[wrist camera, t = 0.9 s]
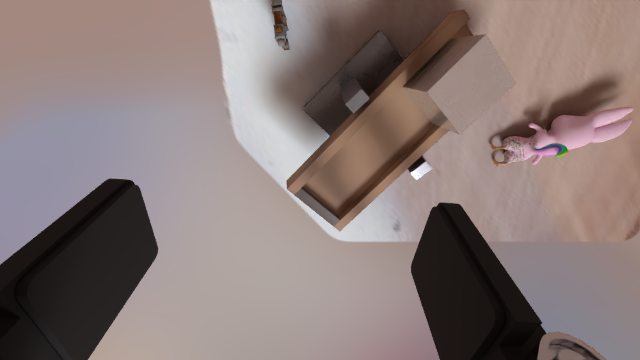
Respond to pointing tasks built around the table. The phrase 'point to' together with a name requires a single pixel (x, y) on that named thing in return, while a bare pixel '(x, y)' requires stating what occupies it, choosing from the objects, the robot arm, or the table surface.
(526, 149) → the pink animal figure
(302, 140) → the table surface
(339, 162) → the balance beam
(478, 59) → the white block
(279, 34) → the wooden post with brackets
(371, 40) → the pivot stand
